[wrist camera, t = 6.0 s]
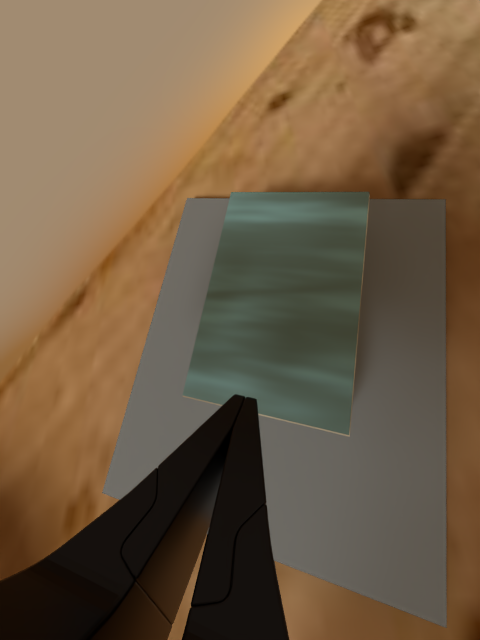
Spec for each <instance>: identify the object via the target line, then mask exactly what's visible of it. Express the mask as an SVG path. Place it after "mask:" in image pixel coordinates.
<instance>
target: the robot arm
mask: <svg viewBox="0 0 480 640" xmlns="http://www.w3.org/2000/svg"><path fill="white" fill-rule="evenodd" d="M266 502H267V501H266V491H265V480H264V469H263V458H262V448H261V437H260V426H259V416H258V405H257V399H255V398H251V397H246V398H245V396H242V395H238V394H235V395H233V396H232V397H231V398H230V399H229V400H228V401H227V402H225V403H224V404H223V405H222V406H221V407H220V408H219V409H218V410H217V411H216V412H215V413H214V414H213V415H212V416H211V417H210V418H208V419H207V420H206V421H205V422H204V423H203V424H202V425H201V426H200V427H199V428H198V429H197V430H196V431H195V432H194V433H193V434H191V435H190V436H189V437H188V438H187V439H186V440H185V441H184V442H183V443H182V444H181V445H180V446H179V447H178V448H177V449H175V450H174V451H173V452H172V453H171V454H170V455H169V456H168V457H167V458H166V459H165V460H164V461H163V462H162V463H161V464H160V465H159V466H158V468H155V469H154V470H153V471H152V472H151V473H150V474H149V475H148V476H147V477H146V478H144V479H143V480H142V481H141V482H140V483H139V484H138V485H137V486H136V487H134V488H133V489H132V490H131V491H130V492H129V493H128V494H126V495H125V496H124V497H123V498H121V499H120V500H119V501H118V502H117V503H115V504H114V505H113V506H112V507H110V508H109V509H108V510H107V511H105V512H104V513H103V514H102V515H100V516H99V517H98V518H96V519H95V520H94V521H93V522H91V523H90V524H89V525H88V526H86V527H85V528H84V529H83V530H81V531H80V532H79V533H77V534H76V535H75V536H74V537H72V538H71V539H70V540H69V541H67V542H66V543H65V544H63V545H62V546H61V547H60V548H58V549H57V550H56V551H54V552H53V553H51V554H50V555H48V556H47V557H45V558H44V559H42V560H41V561H39V562H37V563H36V564H34V565H32V566H30V567H28V568H27V569H25V570H22V571H20V572H18V573H16V574H14V575H12V576H10V577H8V578H6V579H3V580H1V581H0V640H167V639H168V636H169V633H170V631H171V628H172V624H173V622H174V620H175V617H176V614H177V612H178V609H179V606H180V604H181V601H182V598H183V596H184V593H185V590H186V588H187V585H188V582H189V580H190V577H191V574H192V572H193V569H194V566H195V564H196V561H197V558H198V556H199V553H200V550H201V548H202V545H203V542H204V539H205V537H206V534H207V531H208V534H207V538H206V543H205V547H204V551H203V555H202V560H201V564H200V568H199V572H198V576H197V581H196V585H195V589H194V593H193V597H192V602H191V608H190V610H189V614H188V618H187V622H186V626H185V630H184V634H183V637H182V640H289V636H288V631H287V626H286V621H285V615H284V610H283V605H282V600H281V595H280V590H279V585H278V580H277V575H276V569H275V563H274V558H273V552H272V546H271V538H270V530H269V521H268V510H267V505H266ZM208 529H209V530H208Z"/></svg>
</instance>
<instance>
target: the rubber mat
mask: <svg viewBox="0 0 480 640" xmlns="http://www.w3.org/2000/svg"><path fill="white" fill-rule="evenodd" d="M229 199H230V198H187V200H186V204H185V207H184V211H183V214H182V218H181V221H180V225H179V228H178V232H177V235H176V239H175V242H174V246H173V249H172V253H171V256H170V260H169V263H168V266H167V270H166V273H165V277H164V280H163V284H162V287H161V291H160V294H159V298H158V301H157V305H156V308H155V312H154V315H153V319H152V322H151V325H150V329H149V332H148V336H147V339H146V343H145V346H144V350H143V353H142V357H141V360H140V364H139V367H138V371H137V374H136V378H135V381H134V385H133V388H132V391H131V395H130V398H129V402H128V405H127V409H126V412H125V416H124V419H123V423H122V426H121V430H120V433H119V437H118V440H117V444H116V447H115V451H114V454H113V457H112V461H111V464H110V468H109V471H108V475H107V478H106V482H105V485H104V489H103V492H102V493H104V494H106V495H109V496H111V497H114V498H116V499H119V500H120V499H121V498H123V497H124V496H125V495H126V494H128V493H129V492H130V491H131V490H132V489H133V488H134V487H136V486H137V485H138V484H139V483H140V482H141V481H142V480H143V479H144V478H146V477H147V476H148V475H149V474H150V473H151V472H152V471H153V470H154V469H155V468H158V466H159V465H160V464H161V463H162V462H163V461H164V460H165V459H166V458H167V457H168V456H169V455H170V454H171V453H172V452H173V451H174V450H175V449H177V448H178V447H179V446H180V445H181V444H182V443H183V442H184V441H185V440H186V439H187V438H188V437H189V436H190V435H191V434H193V433H194V432H195V431H196V430H197V429H198V428H199V427H200V426H201V425H202V424H203V423H204V422H205V421H206V420H207V419H208V418H210V417H211V416H212V415H213V414H214V413H215V412H216V411H217V410H218V409H219V408H220V407H221V406H219V405H215V404H211V403H207V402H203V401H199V400H195V399H190V398H186V397H183V391H184V386H185V382H186V378H187V374H188V370H189V366H190V361H191V357H192V353H193V349H194V345H195V341H196V336H197V332H198V328H199V324H200V320H201V316H202V311H203V307H204V303H205V299H206V295H207V291H208V287H209V282H210V278H211V274H212V270H213V266H214V262H215V257H216V253H217V249H218V245H219V241H220V237H221V232H222V228H223V224H224V220H225V216H226V212H227V207H228V203H229ZM258 416H259V426H260V437H261V448H262V458H263V469H264V480H265V491H266V501H267V502H266V505H267V510H268V521H269V530H270V538H271V546H272V552H273V558H274V561H277V562H280V563H282V564H285V565H287V566H290V567H292V568H295V569H297V570H300V571H302V572H305V573H308V574H310V575H313V576H315V577H318V578H320V579H323V580H325V581H328V582H331V583H333V584H336V585H338V586H341V587H343V588H346V589H348V590H351V591H353V592H356V593H359V594H361V595H364V596H366V597H369V598H371V599H374V600H376V601H379V602H381V603H384V604H387V605H389V606H392V607H394V608H397V609H399V610H402V611H404V612H407V613H410V614H412V615H415V616H417V617H420V618H422V619H425V620H427V621H430V622H432V623H435V624H438V625H440V626H443V627H445V628H447V606H446V199H369V211H368V223H367V235H366V247H365V259H364V271H363V283H362V295H361V307H360V319H359V331H358V343H357V355H356V367H355V379H354V391H353V403H352V415H351V427H350V437H348V436H344V435H340V434H336V433H332V432H328V431H324V430H319V429H315V428H311V427H307V426H303V425H299V424H294V423H290V422H286V421H282V420H278V419H274V418H269V417H265V416H261V415H258ZM208 530H209V529H208ZM207 534H208V531H207Z"/></svg>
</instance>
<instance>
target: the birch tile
mask: <svg viewBox="0 0 480 640" xmlns="http://www.w3.org/2000/svg"><path fill="white" fill-rule="evenodd" d="M369 199H370V194H369V192H231V195H230V199H229V203H228V207H227V212H226V216H225V220H224V224H223V228H222V232H221V237H220V241H219V245H218V249H217V253H216V257H215V262H214V266H213V270H212V274H211V278H210V282H209V287H208V291H207V295H206V299H205V303H204V307H203V311H202V316H201V320H200V324H199V328H198V332H197V336H196V341H195V345H194V349H193V353H192V357H191V361H190V366H189V370H188V374H187V378H186V382H185V386H184V391H183V397H186V398H190V399H195V400H199V401H203V402H207V403H211V404H215V405H219V406H222V405H223V404H224V403H225V402H227V401H228V400H229V399H230V398H231V397H232V396H233V395H235V394H238V395H242V396H245V398H246V397H251V398H255V399H257V405H258V415H261V416H265V417H269V418H274V419H278V420H282V421H286V422H290V423H294V424H299V425H303V426H307V427H311V428H315V429H319V430H324V431H328V432H332V433H336V434H340V435H344V436H348V437H350V427H351V415H352V403H353V391H354V379H355V367H356V355H357V343H358V331H359V319H360V307H361V295H362V283H363V271H364V259H365V247H366V235H367V223H368V211H369Z"/></svg>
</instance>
